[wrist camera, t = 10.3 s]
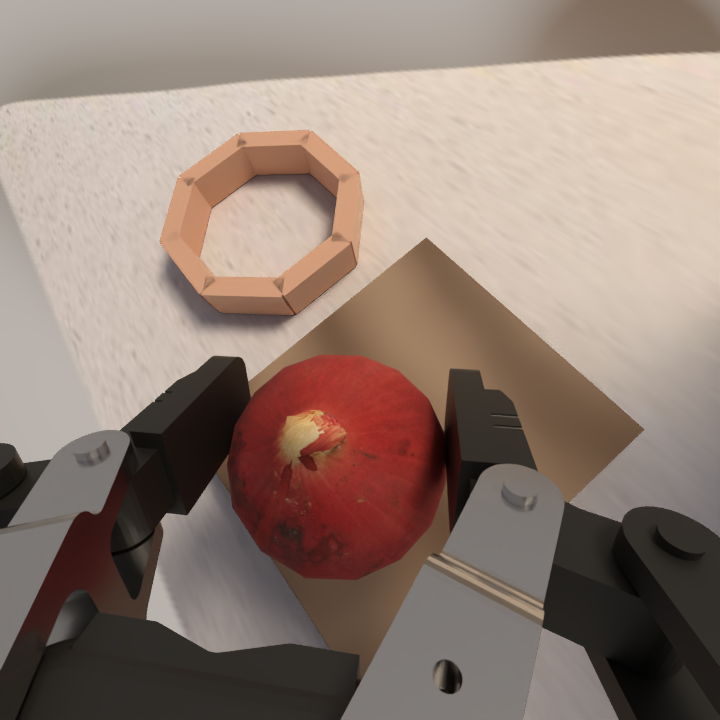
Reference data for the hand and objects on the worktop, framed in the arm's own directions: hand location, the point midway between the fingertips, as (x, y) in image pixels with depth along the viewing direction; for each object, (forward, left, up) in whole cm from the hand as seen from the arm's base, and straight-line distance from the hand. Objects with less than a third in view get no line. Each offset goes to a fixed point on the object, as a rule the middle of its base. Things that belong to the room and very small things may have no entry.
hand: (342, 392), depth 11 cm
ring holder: (-3, -12, -7) cm, 14 cm away
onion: (+1, +1, -4) cm, 5 cm away
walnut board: (-1, +1, -7) cm, 7 cm away
